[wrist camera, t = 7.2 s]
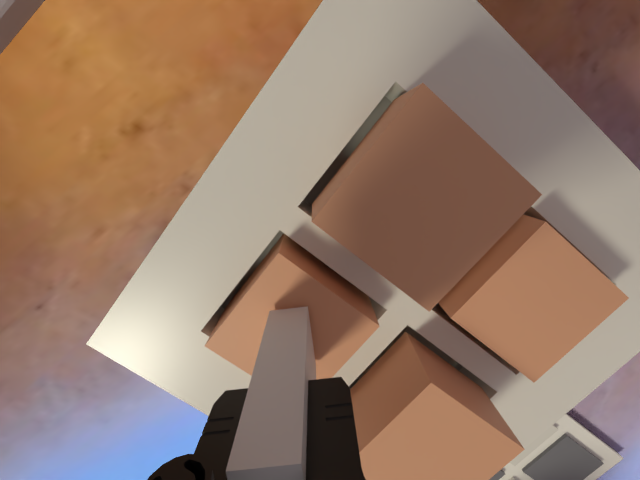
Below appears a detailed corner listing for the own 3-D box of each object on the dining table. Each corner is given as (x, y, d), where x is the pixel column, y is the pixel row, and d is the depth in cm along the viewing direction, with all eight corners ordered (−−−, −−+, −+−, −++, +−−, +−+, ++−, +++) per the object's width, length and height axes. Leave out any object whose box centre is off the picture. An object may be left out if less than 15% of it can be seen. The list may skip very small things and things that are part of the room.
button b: (336, 403, 16) (342, 469, 13) (405, 331, 15) (431, 382, 12) (411, 451, 17) (434, 524, 14) (481, 387, 16) (524, 449, 13)
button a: (423, 284, 16) (450, 318, 13) (496, 205, 15) (545, 221, 12) (492, 338, 17) (534, 382, 14) (565, 267, 16) (629, 297, 13)
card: (401, 475, 22) (403, 485, 21) (513, 372, 20) (519, 379, 19) (504, 541, 23) (509, 550, 23) (617, 452, 21) (626, 461, 21)
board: (130, 306, 18) (86, 344, 14) (368, -34, 14) (387, -94, 10) (401, 475, 22) (417, 538, 18) (652, 245, 18) (735, 270, 14)
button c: (311, 203, 13) (311, 221, 10) (393, 99, 12) (423, 83, 9) (402, 274, 14) (429, 311, 11) (486, 183, 13) (542, 194, 10)
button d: (225, 306, 16) (204, 346, 13) (285, 230, 15) (278, 252, 12) (305, 359, 17) (303, 408, 14) (366, 290, 16) (379, 326, 13)
